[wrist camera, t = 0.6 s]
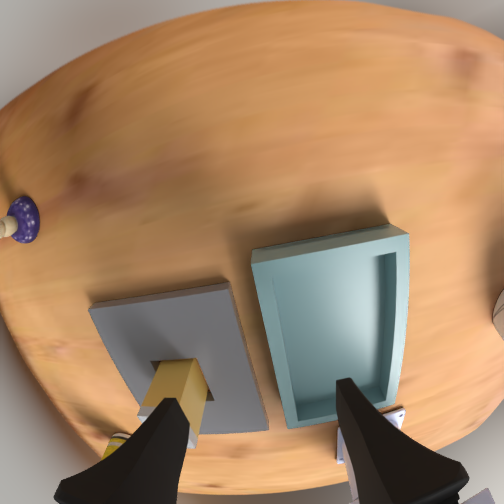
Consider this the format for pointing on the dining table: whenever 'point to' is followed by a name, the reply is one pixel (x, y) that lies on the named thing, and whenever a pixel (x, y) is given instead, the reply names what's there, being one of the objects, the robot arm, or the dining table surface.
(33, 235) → the toy lamp
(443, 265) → the dining table surface
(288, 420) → the parts tray
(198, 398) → the block
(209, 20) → the dining table surface
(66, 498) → the robot arm
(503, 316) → the mug
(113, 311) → the socket block
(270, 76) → the dining table surface
